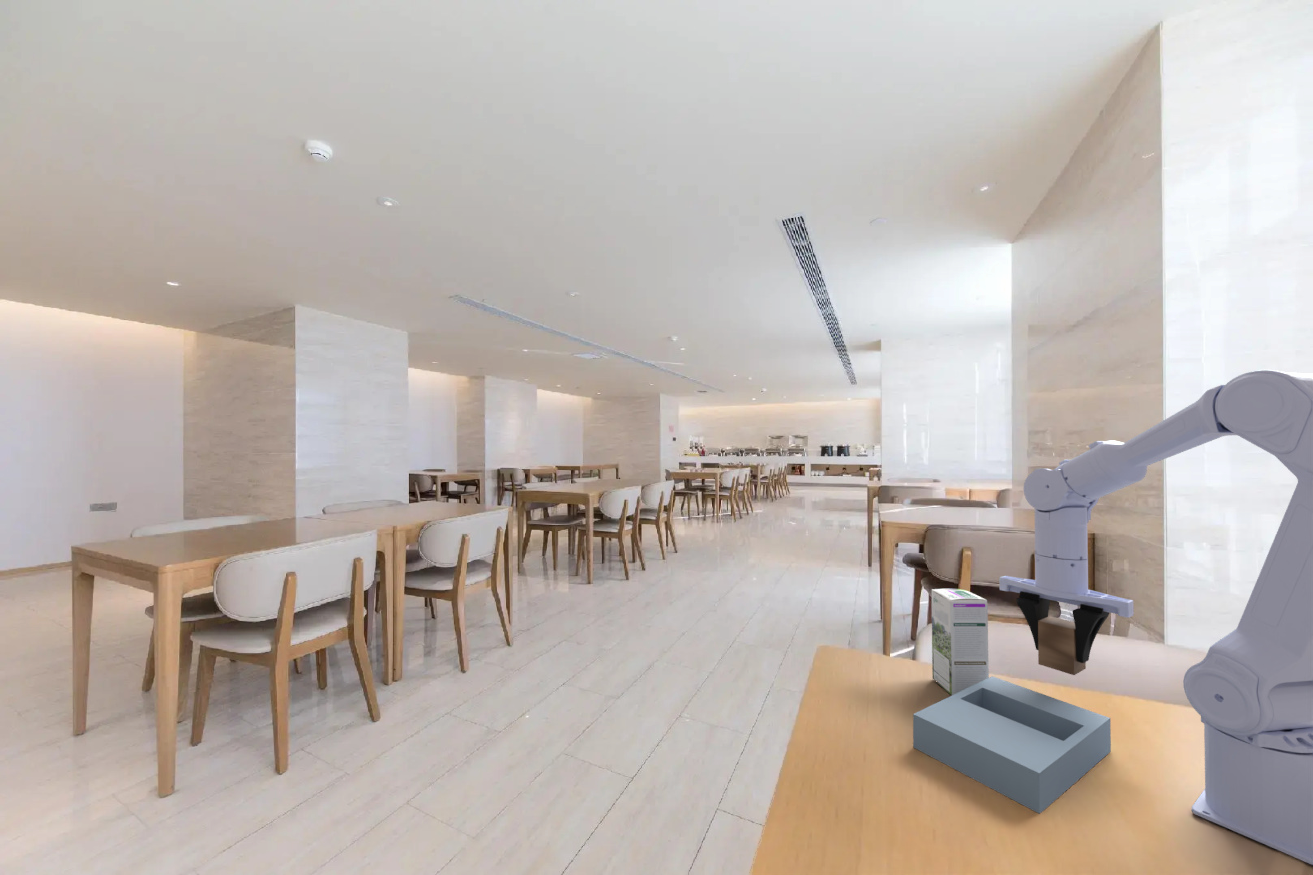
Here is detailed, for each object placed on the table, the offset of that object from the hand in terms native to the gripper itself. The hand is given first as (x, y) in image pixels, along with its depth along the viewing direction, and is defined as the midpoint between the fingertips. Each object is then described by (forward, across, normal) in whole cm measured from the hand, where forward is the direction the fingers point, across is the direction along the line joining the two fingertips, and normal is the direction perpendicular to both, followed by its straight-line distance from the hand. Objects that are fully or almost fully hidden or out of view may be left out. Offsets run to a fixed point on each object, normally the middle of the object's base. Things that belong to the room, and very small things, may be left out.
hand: (1061, 654), depth 69 cm
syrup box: (+8, +12, +4) cm, 15 cm away
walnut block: (+2, 0, 0) cm, 2 cm away
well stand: (+8, 0, +15) cm, 17 cm away
